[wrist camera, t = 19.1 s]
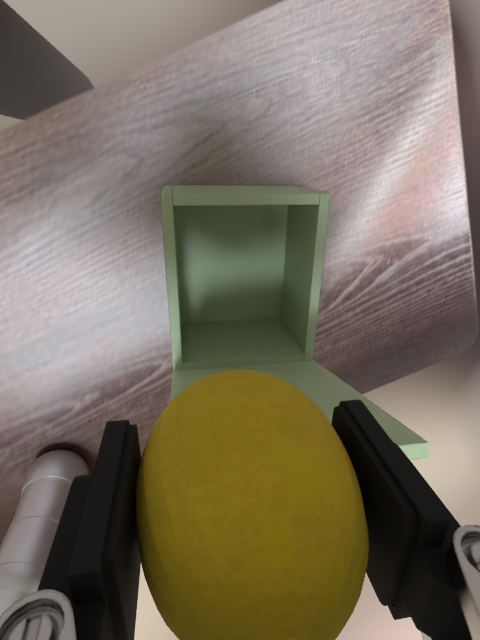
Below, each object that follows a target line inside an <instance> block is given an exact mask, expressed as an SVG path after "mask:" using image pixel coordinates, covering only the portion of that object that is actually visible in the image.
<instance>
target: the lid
mask: <svg viewBox="0 0 480 640" xmlns="http://www.w3.org/2000/svg"><path fill="white" fill-rule="evenodd" d="M234 369H249V370H255V371H260V372H265V373H270V374H272V375H274V376H276V377H278V378H281V379H283V380H285V381H287V382H289V383H291V384H293V385H294V386H295V387H297V388H298V389H299V390H300V391H301V392H303V393H304V394H305V395H306V396H307V397H308V398H309V399H311V400H312V401H313V402H314V403H315V404H316V405H317V406H318V407H319V408H320V409H321V411H322V412H323V413H324V414H325V416H326V417H327V418H328V420H329V422H330V423H332V416H333V410H334V407H336V406H339V403H340V402H341V401H347V400H358V399H359V400H361V401H362V402H363V403H364V404H365V406H366V407H367V408H368V410H369V411H370V412H371V414H372V415H373V416H374V418H375V419H376V420H377V422H378V423H379V424H380V425H381V427H382V428H383V429H384V431H385V432H386V433H387V435H388V436H389V437H390V439H391V440H392V441H393V442H394V443H396V444H397V445H398V446H399V447H400V448H401V449H402V451H403V452H404V453H405V455H406V456H407V457H408V459H409V460H414V459H422V458H427V457H428V442H427V441H426V440H424V439H423V438H422V437H420V436H419V435H417V434H416V433H414V432H413V431H412V430H410V429H409V428H407V427H406V426H405V425H403V424H402V423H401V422H399V421H398V420H396V419H395V418H393V417H392V416H391V415H389V414H388V413H387V412H385V411H384V410H382V409H381V408H380V407H378V406H377V405H375V404H374V403H373V402H371V401H370V400H368V399H367V398H366V397H364V396H363V395H362V394H360V393H359V392H357V391H356V390H355V389H353V388H352V387H350V386H349V385H348V384H346V383H345V382H343V381H342V380H341V379H339V378H338V377H336V376H335V375H334V374H332V373H331V372H329V371H328V370H327V369H325V368H324V367H322V366H321V365H320V364H318V363H317V362H316V361H301V362H288V363H274V364H261V365H247V366H234V367H220V368H207V369H193V370H180V371H173V378H172V389H171V399H170V401H171V400H172V399H173V398H174V397H175V396H177V395H178V394H179V393H180V392H181V391H182V390H184V389H185V388H186V387H187V386H189V385H190V384H191V383H193V382H195V381H197V380H199V379H201V378H203V377H205V376H207V375H209V374H213V373H217V372H221V371H224V370H234Z"/></svg>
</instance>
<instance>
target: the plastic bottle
mask: <svg viewBox="0 0 480 640" xmlns="http://www.w3.org/2000/svg"><path fill="white" fill-rule="evenodd" d="M80 475H89V470H88V466H87V464H86V463H85V461H84V460H83V458H82V457H81V456H79V455H78V454H76V453H74V452H72V451H68V450H53V451H50V452H47V453H45V454H43V455H41V456H40V457H38V458H37V459H36V460H35V461H34V463H33V464H32V466H31V467H30V468H29V470H28V472H27V473H26V477H25V480H24V484H23V487H22V493H21V498H20V501H19V504H18V506H17V509H16V512H15V515H14V518H13V521H12V523H11V525H10V527H9V529H8V531H7V533H6V535H5V537H4V539H3V541H2V543H1V545H0V616H1V614H2V613H3V612H4V611H5V610H7V609H8V608H9V607H10V606H11V605H12V604H13V603H14V602H16V601H17V600H19V599H21V598H23V597H24V596H26V595H28V594H30V593H33V592H36V591H37V590H38V586H39V583H40V580H41V577H42V574H43V571H44V568H45V565H46V561H47V558H48V555H49V552H50V549H51V546H52V543H53V540H54V537H55V533H56V530H57V527H58V524H59V521H60V518H61V515H62V512H63V509H64V505H65V502H66V499H67V496H68V493H69V490H70V487H71V484H72V481H73V479H74V478H75V477H76V476H80Z"/></svg>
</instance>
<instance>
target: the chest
mask: <svg viewBox="0 0 480 640" xmlns="http://www.w3.org/2000/svg"><path fill="white" fill-rule="evenodd" d="M160 201H161V214H162V227H163V240H164V254H165V267H166V280H167V293H168V307H169V320H170V333H171V346H172V360H173V371H180V370H193V369H207V368H220V367H234V366H247V365H261V364H274V363H288V362H301V361H312V360H313V351H314V342H315V332H316V323H317V314H318V305H319V295H320V286H321V277H322V267H323V258H324V249H325V240H326V230H327V221H328V212H329V203H330V193H326V192H322V191H317V190H313V189H309V188H304V187H300V186H295V185H164V187H163V189H162V191H161V194H160Z"/></svg>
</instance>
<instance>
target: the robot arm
mask: <svg viewBox="0 0 480 640" xmlns="http://www.w3.org/2000/svg"><path fill="white" fill-rule="evenodd" d="M331 425H332V426H333V428H334V430H335V431H336V433H337V435H338V436H339V438H340V440H341V441H342V443H343V445H344V447H345V449H346V451H347V453H348V455H349V457H350V460H351V462H352V465H353V467H354V470H355V473H356V476H357V479H358V483H359V487H360V491H361V495H362V500H363V505H364V510H365V516H366V522H367V528H368V539H369V552H368V564H367V568H366V573H367V575H368V577H369V580H370V582H371V584H372V586H373V588H374V591H375V593H376V595H377V597H378V599H379V601H380V602H381V604H382V605H384V606H386V605H388V607H389V609H390V612H391V614H392V616H393V618H394V620H396V619H402V618H407V617H411V618H412V620H413V622H414V623H415V626H416V628H417V629H418V630H420V631H421V633H422V638H423V640H480V526H478V525H465V526H462V527H461V526H460V525H459V523H458V522H457V521H456V520H455V518H454V517H453V516H452V514H451V513H450V512H449V510H448V509H447V508H446V507H445V505H444V504H443V503H442V501H441V500H440V499H439V497H438V496H437V495H436V494H435V492H434V491H433V490H432V488H431V487H430V486H429V485H428V483H427V482H426V481H425V480H424V478H423V477H422V475H421V474H420V473H419V472H418V470H417V469H416V468H415V466H414V465H413V464H412V462H411V461H410V460H409V459H408V457H407V456H406V455H405V453H404V452H403V451H402V449H401V448H400V447H399V446H398V445H397V444H396V443H394V442H393V441H392V440H391V439H390V437H389V436H388V435H387V433H386V432H385V431H384V429H383V428H382V427H381V425H380V424H379V423H378V422H377V420H376V419H375V418H374V416H373V415H372V414H371V412H370V411H369V410H368V408H367V407H366V406H365V404H364V403H363V402H362V401H361V400H359V399H358V400H347V401H341V402H340V403H339V406H336V407H334V410H333V416H332V423H331ZM140 462H141V454H140V446H139V438H138V430H137V425H130V423H129V420H120V421H109V422H107V423H106V426H105V430H104V434H103V438H102V442H101V445H100V449H99V453H98V457H97V461H96V464H95V468H94V472H93V474H89V475H80V476H76V477H75V478H74V479H73V481H72V484H71V487H70V490H69V493H68V496H67V499H66V502H65V505H64V509H63V512H62V515H61V518H60V521H59V524H58V527H57V530H56V533H55V537H54V540H53V543H52V546H51V549H50V552H49V555H48V558H47V561H46V565H45V568H44V571H43V574H42V577H41V580H40V583H39V586H38V590H37V591H36V592H33V593H30V594H28V595H26V596H24V597H23V598H21V599H19V600H17V601H16V602H14V603H13V604H12V605H11V606H10V607H9V608H8V609H7V610H5V611H4V612H3V613H2V614H1V616H0V640H134V633H135V621H136V610H137V599H138V587H139V575H140V564H141V559H140V553H139V547H138V539H137V529H136V486H137V477H138V470H139V466H140Z"/></svg>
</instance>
